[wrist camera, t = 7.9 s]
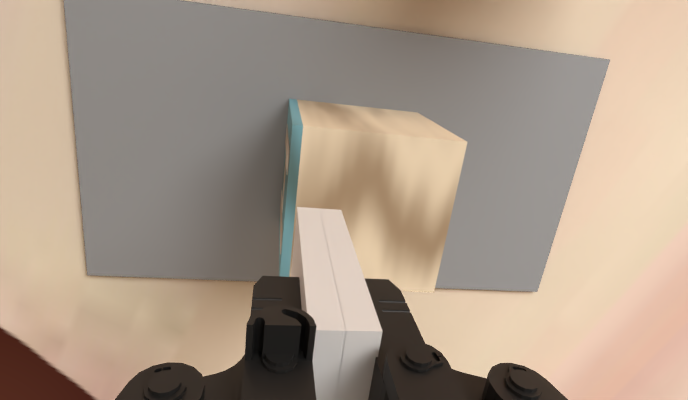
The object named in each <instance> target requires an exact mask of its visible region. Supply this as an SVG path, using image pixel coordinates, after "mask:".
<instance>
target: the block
mask: <svg viewBox="0 0 688 400" xmlns="http://www.w3.org/2000/svg"><path fill="white" fill-rule="evenodd" d="M466 147H467V141H465V140H463V139H462V138H460V137H458V136H457V135H455V134H453V133H451V132H450V131H448V130H446V129H445V128H443V127H441V126H440V125H438V124H436V123H434V122H433V121H431V120H429V119H428V118H426V117H424V116H422V115H421V114H419V113H417V112H408V111H399V110H390V109H380V108H371V107H362V106H353V105H343V104H334V103H325V102H315V101H306V100H297V99H289V107H288V119H287V129H286V141H285V156H284V169H283V181H282V191H281V204H280V218H279V276H282V277H291V267H292V256H293V245H294V235H295V224H296V213H297V207H306V208H321V209H336V210H341V211H342V214H343V217H344V220H345V223H346V225H347V228H348V231H349V234H350V237H351V240H352V243H353V246H354V249H355V252H356V255H357V258H358V261H359V264H360V267H361V270H362V272H363V275H364V278H367V279H389V280H390V281H391V282H392V283H393V284H394V285H395V286H397V287H398V288H399V289H400V290H401V291H408V292H434V290H435V285H436V281H437V276H438V272H439V268H440V263H441V259H442V254H443V250H444V245H445V241H446V236H447V232H448V227H449V223H450V218H451V214H452V209H453V205H454V200H455V196H456V191H457V187H458V183H459V178H460V174H461V169H462V165H463V160H464V156H465V151H466Z"/></svg>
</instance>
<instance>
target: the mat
mask: <svg viewBox="0 0 688 400" xmlns="http://www.w3.org/2000/svg"><path fill="white" fill-rule="evenodd" d="M64 9H65V21H66V32H67V44H68V56H69V67H70V79H71V91H72V102H73V114H74V126H75V137H76V149H77V161H78V172H79V184H80V196H81V207H82V219H83V231H84V242H85V254H86V266H87V275H95V276H122V277H149V278H177V279H204V280H231V281H258V280H259V279H260V278H261V277H262V276H279V218H280V204H281V191H282V181H283V169H284V156H285V141H286V129H287V119H288V107H289V99H297V100H306V101H315V102H325V103H334V104H343V105H353V106H362V107H371V108H380V109H390V110H399V111H408V112H417V113H419V114H421V115H422V116H424V117H426V118H428V119H429V120H431V121H433V122H434V123H436V124H438V125H440V126H441V127H443V128H445V129H446V130H448V131H450V132H451V133H453V134H455V135H457V136H458V137H460V138H462V139H463V140H465V141H467V147H466V151H465V156H464V160H463V165H462V169H461V174H460V178H459V183H458V187H457V191H456V196H455V200H454V205H453V209H452V214H451V218H450V223H449V227H448V232H447V236H446V241H445V245H444V250H443V254H442V259H441V263H440V268H439V272H438V276H437V281H436V285H435V288H449V289H477V290H504V291H531V292H537V291H538V288H539V284H540V281H541V278H542V275H543V272H544V269H545V265H546V262H547V259H548V256H549V253H550V249H551V246H552V243H553V240H554V237H555V234H556V230H557V227H558V224H559V221H560V218H561V214H562V211H563V208H564V205H565V202H566V199H567V195H568V192H569V189H570V186H571V183H572V179H573V176H574V173H575V170H576V167H577V164H578V160H579V157H580V154H581V151H582V148H583V145H584V141H585V138H586V135H587V132H588V129H589V125H590V122H591V119H592V116H593V113H594V110H595V106H596V103H597V100H598V97H599V94H600V90H601V87H602V84H603V81H604V78H605V75H606V71H607V68H608V65H609V62H610V60H609V59H601V58H594V57H587V56H580V55H572V54H565V53H558V52H551V51H544V50H536V49H529V48H522V47H515V46H507V45H500V44H493V43H486V42H478V41H471V40H464V39H457V38H449V37H442V36H435V35H428V34H420V33H413V32H406V31H399V30H391V29H384V28H377V27H370V26H362V25H355V24H348V23H341V22H334V21H326V20H319V19H312V18H305V17H297V16H290V15H283V14H276V13H268V12H261V11H254V10H247V9H239V8H232V7H225V6H218V5H210V4H203V3H196V2H189V1H181V0H64Z"/></svg>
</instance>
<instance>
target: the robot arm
mask: <svg viewBox="0 0 688 400" xmlns="http://www.w3.org/2000/svg"><path fill="white" fill-rule="evenodd" d="M115 400H568V399H567V398H566V397H564V396H563V395H562V394H561V393H560V392H559V391H558V390H557V389H556V388H555V387H554V386H553V385H552V384H551V383H550V382H548V381H547V380H546V379H545V378H544V377H542V376H541V375H540V374H538V373H537V372H535V371H533V370H531V369H529V368H527V367H525V366H521V365H517V364H513V363H500V364H497V365H495V366H493V367H492V368H491V370H490V372H489V373H488V377H487V379H486V378H482V377H478V376H474V375H470V374H466V373H462V372H459V371H456V370H453V369H451V367H450V365H449V363H448V361H447V360H446V358H445V357H444V356H443V354H442V353H441V352H439V351H438V350H436V349H435V348H434V347H432V346H430V345H427V344H425V342H424V340H423V338H422V336H421V334H420V331H419V329H418V327H417V325H416V323H415V321H414V319H413V316H412V314H411V313H410V310H409V308H408V306H407V303H405V299H404V297H403V295H402V293H401V290H400V289H399V288H398V287H397V286H395V285H394V284H393V283H392V282H391V281H390V280H389V279H367V278H364V275H363V272H362V270H361V267H360V264H359V261H358V258H357V255H356V252H355V249H354V246H353V243H352V240H351V237H350V234H349V231H348V228H347V225H346V223H345V220H344V217H343V214H342V211H341V210H336V209H321V208H306V207H297V213H296V224H295V235H294V245H293V256H292V267H291V277H282V276H262V277H261V278H260V279H259V280H258V282H257V283H256V284H255V285H254V289H253V298H252V307H251V317H250V319H249V321H248V323H247V330H246V348H245V355H244V356H243V358H242V359H241V360H240V361H239V362H238V363H237V364H236V365H235V366H233V367H231V368H229V369H227V370H226V371H223V372H220V373H217V374H213V375H209V376H205V377H202V374H201V373H200V372H199V371H197V370H196V369H195V368H194V367H192V366H189V365H186V364H183V363H164V364H159V365H155V366H152V367H150V368H148V369H145V370H143V371H141V372H139V373H138V374H137V375H136V376H135V377H134V378H133V379H132V380H130V381H129V382H128V384H127V385H126V386H125V387H124V389H123V390H122V391H121V393H120V394H119V395H118V396H117V398H116V399H115Z"/></svg>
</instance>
